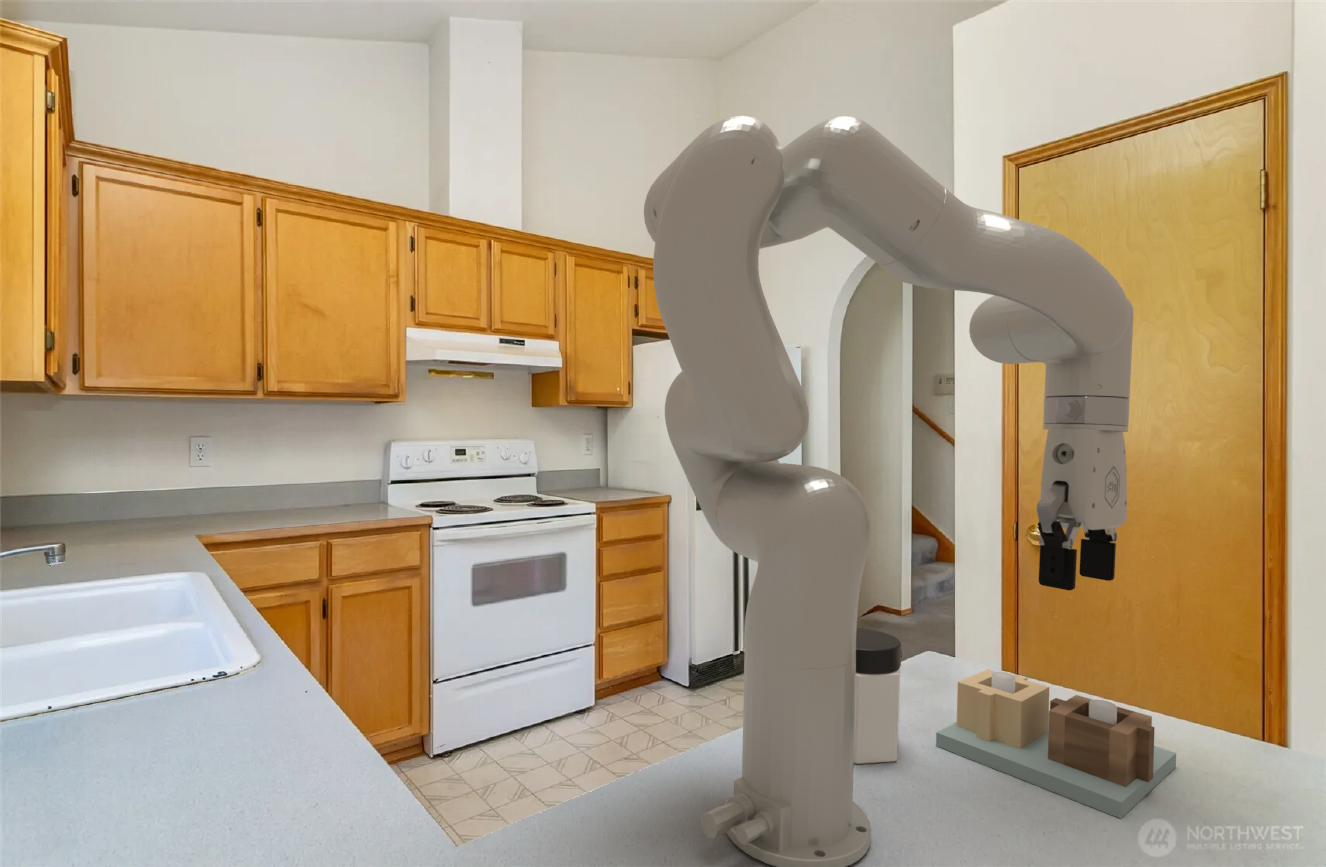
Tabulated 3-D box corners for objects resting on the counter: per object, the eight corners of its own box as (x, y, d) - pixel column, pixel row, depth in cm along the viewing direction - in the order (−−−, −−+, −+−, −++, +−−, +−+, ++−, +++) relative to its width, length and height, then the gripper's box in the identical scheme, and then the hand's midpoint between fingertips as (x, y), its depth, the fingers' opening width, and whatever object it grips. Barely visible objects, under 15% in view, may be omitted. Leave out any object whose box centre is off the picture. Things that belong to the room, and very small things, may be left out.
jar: (917, 751, 76) (920, 641, 76) (874, 773, 71) (876, 656, 70) (848, 723, 83) (850, 622, 83) (804, 741, 78) (806, 634, 77)
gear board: (1121, 818, 63) (1123, 736, 63) (936, 745, 77) (937, 678, 77) (1175, 767, 73) (1177, 696, 73) (1003, 710, 87) (1004, 651, 87)
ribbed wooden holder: (1138, 791, 65) (1139, 738, 65) (1037, 755, 72) (1038, 707, 72) (1162, 769, 70) (1163, 719, 70) (1065, 737, 77) (1066, 692, 76)
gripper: (1090, 412, 63) (1082, 600, 63) (1157, 421, 74) (1149, 581, 74) (1007, 412, 69) (999, 583, 69) (1080, 420, 80) (1073, 569, 80)
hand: (1077, 582), depth 72 cm, fingers open, 9 cm apart
